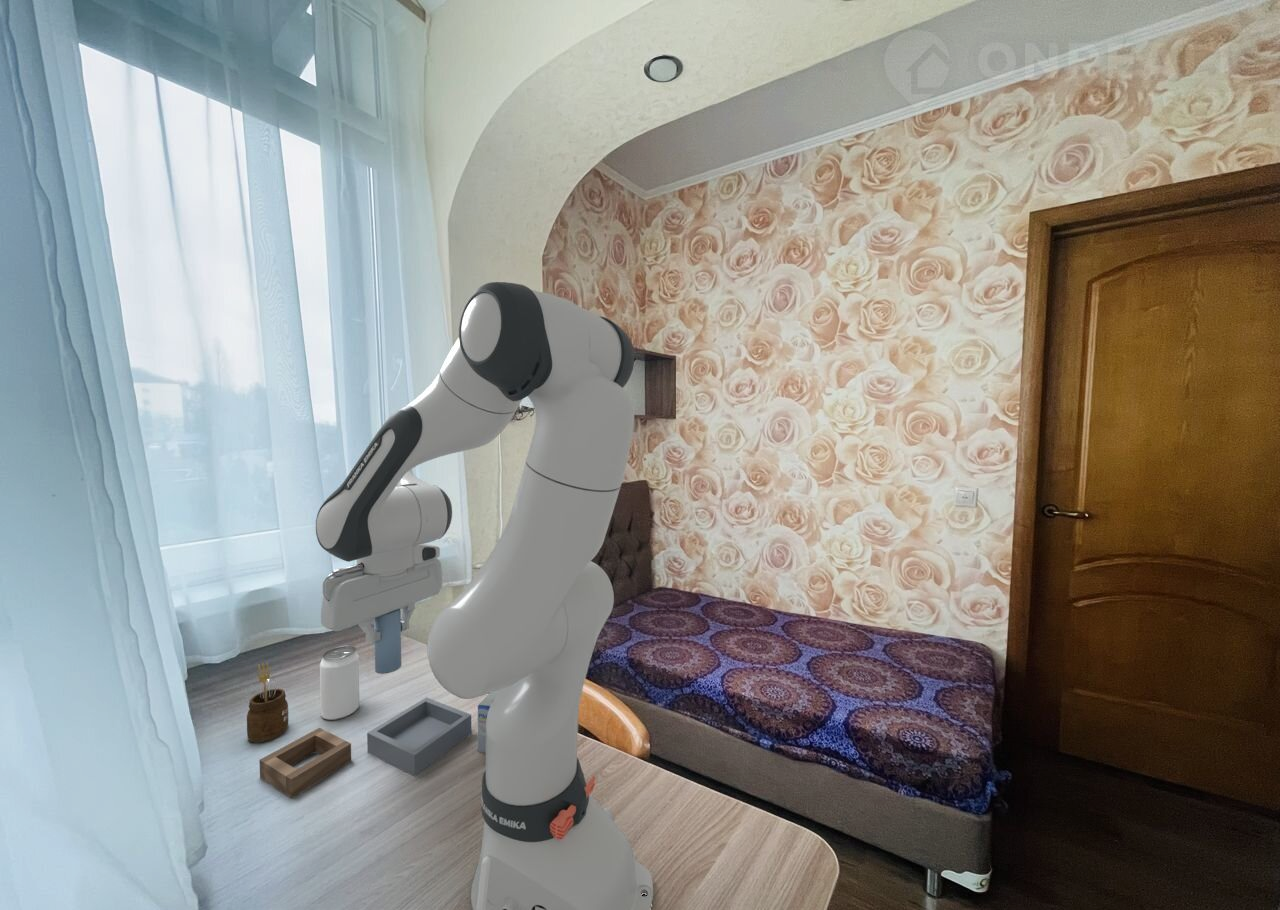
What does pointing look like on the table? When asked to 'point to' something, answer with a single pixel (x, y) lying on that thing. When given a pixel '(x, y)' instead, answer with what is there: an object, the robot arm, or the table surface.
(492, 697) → the medicine box
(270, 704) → the utensil holder
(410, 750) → the tray
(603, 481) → the robot arm
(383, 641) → the dowel
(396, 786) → the table surface
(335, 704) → the can
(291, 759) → the collar
